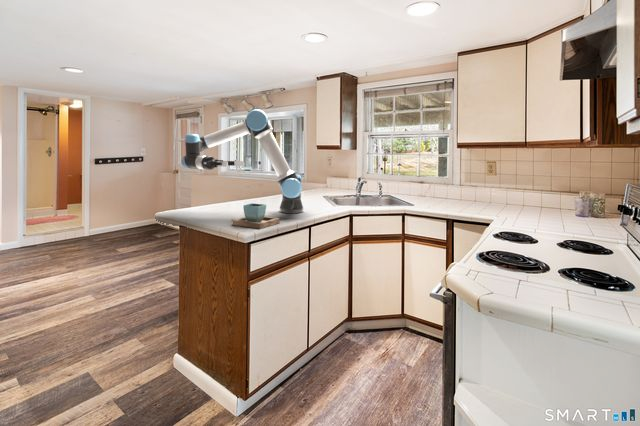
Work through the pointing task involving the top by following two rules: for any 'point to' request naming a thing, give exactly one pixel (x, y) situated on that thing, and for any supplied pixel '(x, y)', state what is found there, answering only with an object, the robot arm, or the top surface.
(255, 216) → the flower pot
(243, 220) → the walnut tray
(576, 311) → the top surface
